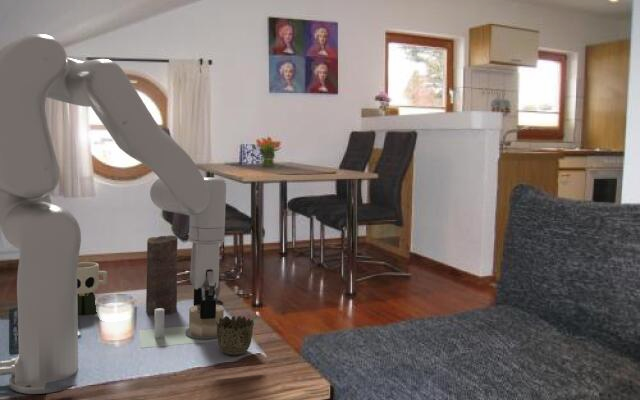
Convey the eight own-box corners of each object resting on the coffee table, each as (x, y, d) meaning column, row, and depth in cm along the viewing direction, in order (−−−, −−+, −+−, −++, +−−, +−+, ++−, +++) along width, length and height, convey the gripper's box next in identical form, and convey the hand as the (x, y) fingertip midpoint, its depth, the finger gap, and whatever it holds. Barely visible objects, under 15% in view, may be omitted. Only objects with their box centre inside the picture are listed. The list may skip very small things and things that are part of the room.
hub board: (141, 355, 112) (141, 316, 111) (138, 336, 122) (138, 301, 121) (231, 346, 118) (232, 309, 117) (222, 329, 128) (222, 296, 128)
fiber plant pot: (245, 368, 107) (246, 328, 106) (209, 364, 108) (210, 325, 107) (257, 354, 114) (258, 317, 113) (224, 351, 115) (224, 313, 114)
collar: (192, 337, 117) (192, 314, 116) (188, 327, 123) (188, 305, 123) (225, 334, 119) (225, 312, 119) (219, 324, 126) (219, 303, 125)
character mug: (58, 324, 129) (57, 269, 127) (59, 315, 135) (58, 263, 134) (108, 319, 133) (107, 266, 132) (106, 311, 139) (106, 260, 138)
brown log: (178, 319, 134) (179, 238, 132) (147, 322, 132) (147, 239, 130) (174, 310, 141) (175, 233, 139) (144, 313, 139) (144, 234, 137)
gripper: (184, 228, 126) (181, 302, 127) (194, 241, 110) (192, 325, 111) (217, 228, 129) (214, 300, 130) (232, 240, 113) (228, 322, 114)
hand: (204, 311), depth 121 cm, fingers open, 9 cm apart
